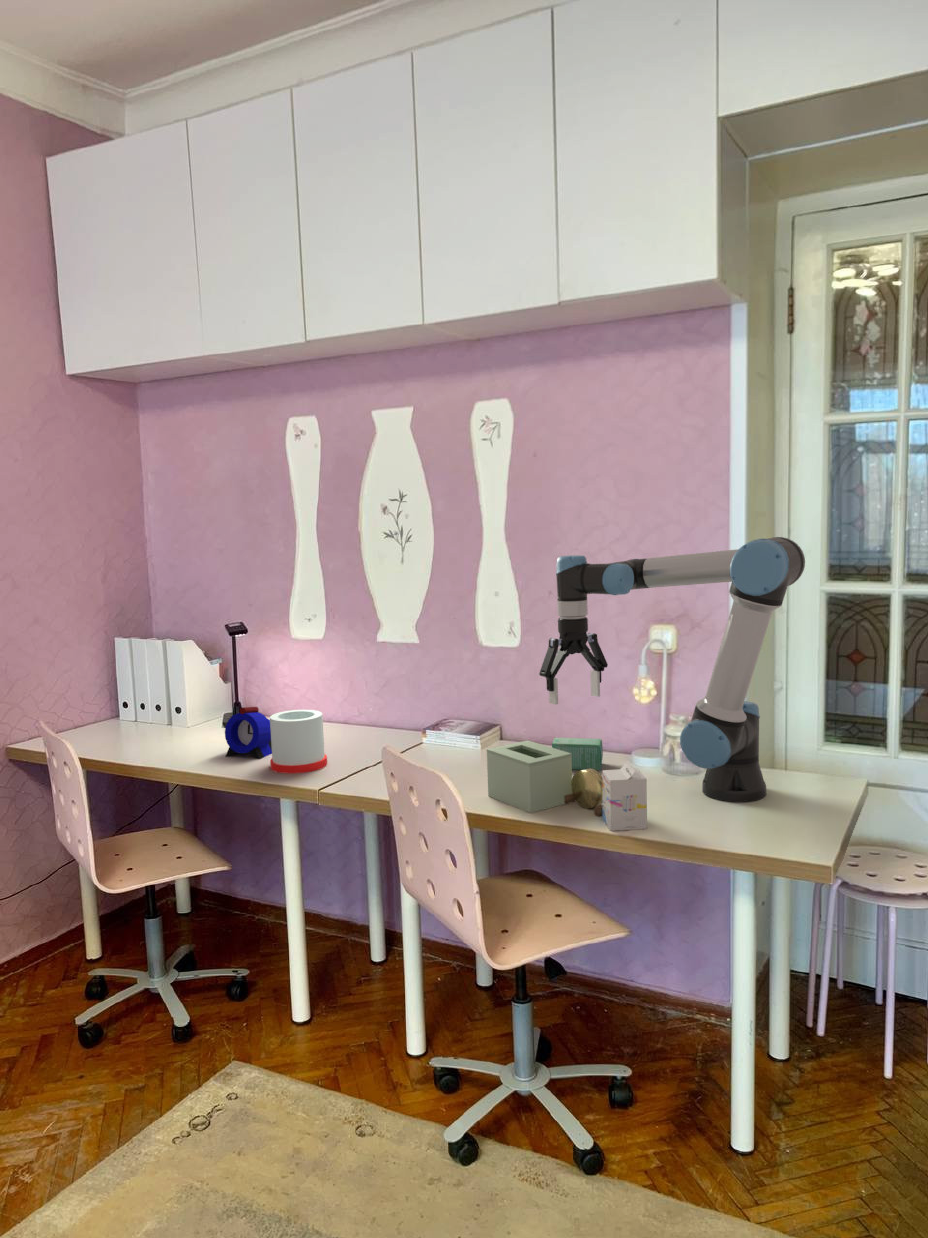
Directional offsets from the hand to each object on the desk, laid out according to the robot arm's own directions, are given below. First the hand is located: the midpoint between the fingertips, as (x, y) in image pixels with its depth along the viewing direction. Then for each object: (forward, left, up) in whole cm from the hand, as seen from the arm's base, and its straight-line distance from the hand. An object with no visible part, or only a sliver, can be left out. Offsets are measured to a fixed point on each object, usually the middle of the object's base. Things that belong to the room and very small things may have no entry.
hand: (574, 699), depth 242 cm
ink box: (-29, +11, -23) cm, 39 cm away
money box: (-1, +16, -22) cm, 28 cm away
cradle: (-15, +9, -22) cm, 29 cm away
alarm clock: (+88, +52, -23) cm, 105 cm away
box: (+12, -11, -23) cm, 28 cm away
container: (+66, +47, -23) cm, 84 cm away
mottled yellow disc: (-15, +9, -22) cm, 29 cm away
